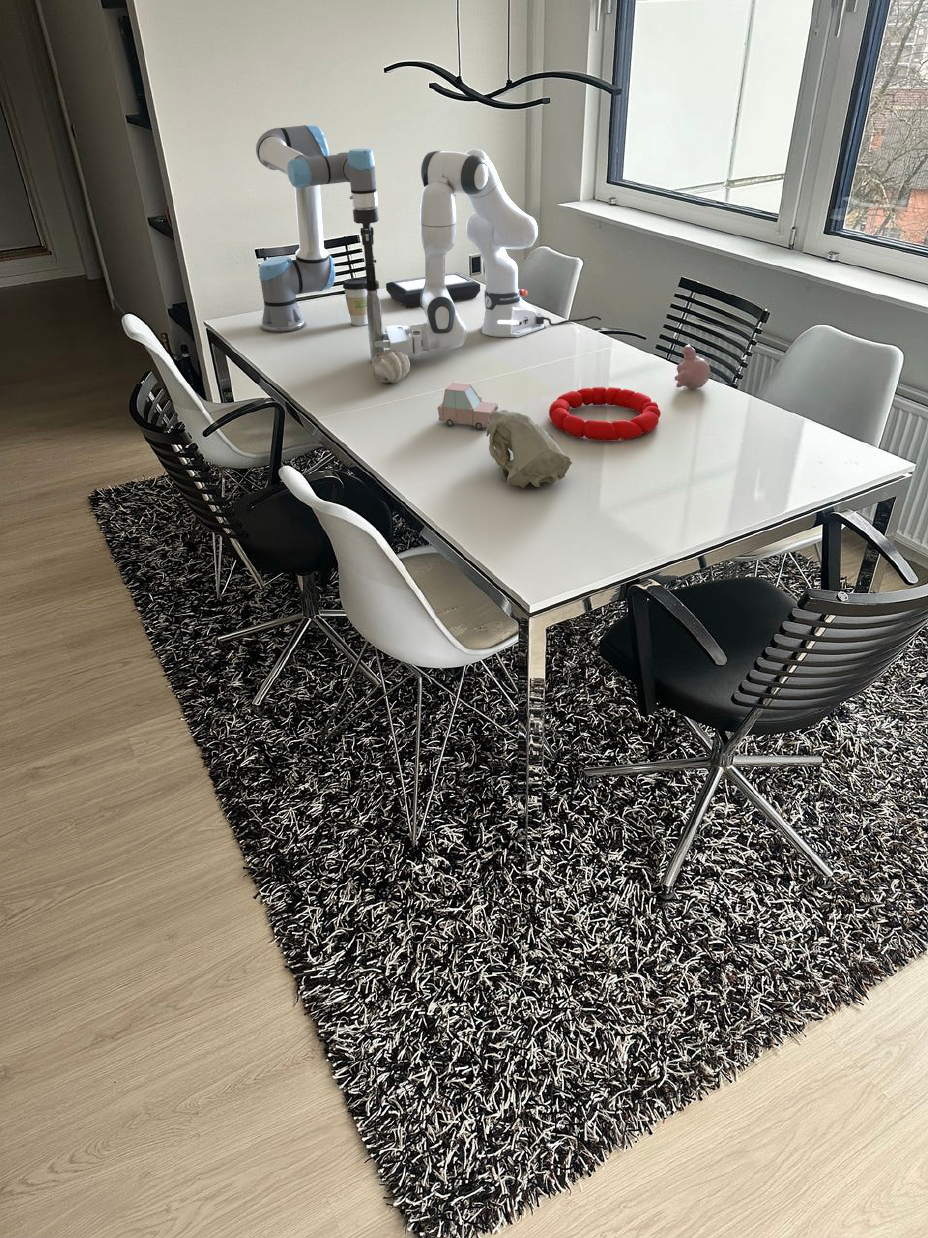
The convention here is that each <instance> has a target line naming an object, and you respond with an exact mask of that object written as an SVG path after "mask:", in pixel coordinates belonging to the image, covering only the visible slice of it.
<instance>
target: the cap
mask: <svg viewBox="0 0 928 1238" xmlns="http://www.w3.org/2000/svg"><path fill="white" fill-rule="evenodd" d="M375 281H376V289H377V290H379V289H380V283H379V280H377V279H376V280H375ZM364 286H365V289H366V290H367V281H365V282H364Z"/></svg>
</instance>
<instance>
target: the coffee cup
mask: <svg viewBox="0 0 928 1238" xmlns="http://www.w3.org/2000/svg"><path fill="white" fill-rule="evenodd" d="M365 281H367V280H366V278H365V277H351V278H347V279H345V280H344V281H343V285H342V288H343V290H344V297H345V301H346V305H347V310H348V314H349V318H350V323H351V325H353V326H357V327H359V326H365V325H368V320H367V309H366V298H367V297H366V296H367V290H366V289H365V286H364V282H365Z"/></svg>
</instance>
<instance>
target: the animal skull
mask: <svg viewBox="0 0 928 1238" xmlns="http://www.w3.org/2000/svg"><path fill="white" fill-rule="evenodd" d="M485 436H486V438H487V437H489V438H488V440H489V444H488V445H489V446H488V450H489V454H490V456H491V457H492V458H493V459H494V460H495V462H496V464H497V466H499V468H500V470H501V471H502V472H501V478H502V479H507V480H506V484H507V486H517V487H518V486H519V488H523V489H524V488H526V486H527V485H529V483H531V485H533V486H534V487H536V488H540V485H541V484H542V482H544V483H549V484H550V485H553V484H555V483H556V482H557V480H561V479H563V478H565V476H566V474H567V472H568V471H569V469H570V467H571V466H572V464H573V462H572V461H571V458H570V457H568V456H567V455H565V453H564V451H562V449H561V448H560V446H559V444H557V443H556V439H555V438H554V436H553V435H551V434H550V433H548V432H547V431H546V430H545V429H544V428H542V427H541V426H539V425H538V424H537V423H536V424H535V422H534V421H533V419H532V418H531V417H530V416H529V415H527V414H524V413H519V412H515V411H509V410H507V409H502V410H500V411H499V410H497V411H496V412H492V413H491V414H490V422H488V423H487V427H486V435H485ZM511 453H512V454H511ZM511 455H512V457H513V458H512V460H511ZM507 474H508V475H507Z"/></svg>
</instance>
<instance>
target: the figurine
mask: <svg viewBox="0 0 928 1238" xmlns="http://www.w3.org/2000/svg"><path fill="white" fill-rule="evenodd" d="M682 354H683V358H684V359H683V361H682V362H679V363H678V364H677V365H676V372H677V375H675V376H674V381H675V382H676V381H677V382H676V384H675V386H676V388H681V387H686V388H688V389H693V390H694V389H695V390H696V389H700V388H703V387H704V386H705V385H706V384H707V383H708V382H709V379H710V377H711V367H710V364H709V362H708V361H706V359H704V358H702V357H700V356H697V353H696V350H695V349H694V347H692V345H690V344H686V345H685V346H684V347H683V348H682Z"/></svg>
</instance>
